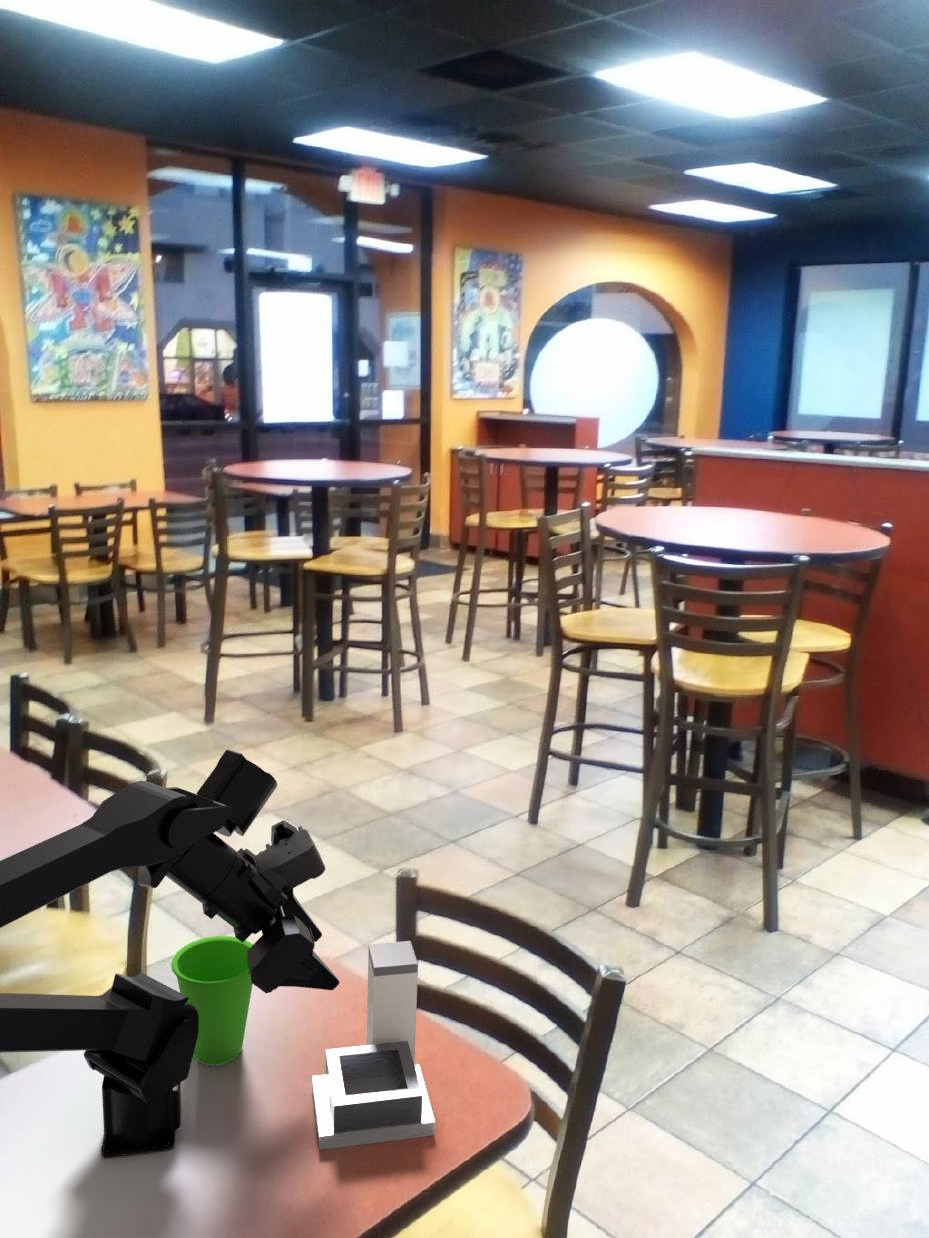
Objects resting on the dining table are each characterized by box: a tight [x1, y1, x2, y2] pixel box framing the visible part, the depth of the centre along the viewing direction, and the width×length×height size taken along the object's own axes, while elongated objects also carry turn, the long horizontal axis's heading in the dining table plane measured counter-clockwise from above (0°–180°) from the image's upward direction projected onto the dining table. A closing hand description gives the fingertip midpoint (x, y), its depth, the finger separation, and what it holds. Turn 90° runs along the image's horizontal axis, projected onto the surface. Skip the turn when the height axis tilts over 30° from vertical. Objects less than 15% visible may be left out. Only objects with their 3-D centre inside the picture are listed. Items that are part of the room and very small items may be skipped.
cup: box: [170, 935, 254, 1066], centre depth 107 cm, size 9×9×11 cm
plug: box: [365, 940, 419, 1065], centre depth 107 cm, size 4×4×12 cm
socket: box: [312, 1041, 436, 1151], centre depth 100 cm, size 11×9×4 cm
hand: (327, 960), depth 104 cm, fingers open, 9 cm apart
